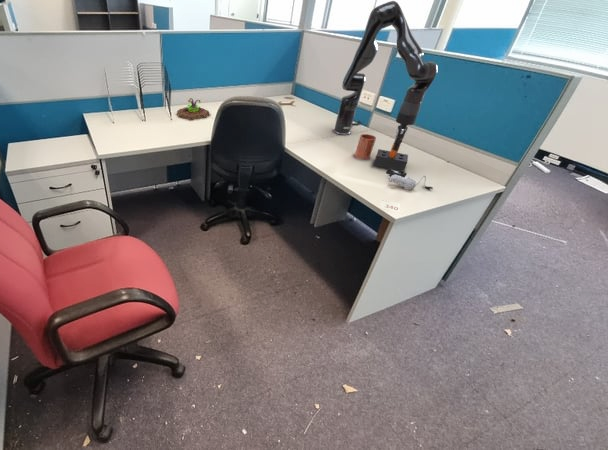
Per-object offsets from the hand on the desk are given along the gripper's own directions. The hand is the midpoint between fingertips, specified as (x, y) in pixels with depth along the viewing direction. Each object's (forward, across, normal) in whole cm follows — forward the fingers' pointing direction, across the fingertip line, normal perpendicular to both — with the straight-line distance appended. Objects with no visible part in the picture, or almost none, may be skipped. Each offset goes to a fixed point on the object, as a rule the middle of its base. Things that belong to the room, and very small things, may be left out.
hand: (395, 147), depth 154 cm
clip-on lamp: (+11, +15, +9) cm, 21 cm away
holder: (+11, -2, 0) cm, 11 cm away
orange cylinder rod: (+10, 0, 0) cm, 10 cm away
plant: (+11, -21, -123) cm, 125 cm away
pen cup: (+11, -7, -13) cm, 18 cm away
